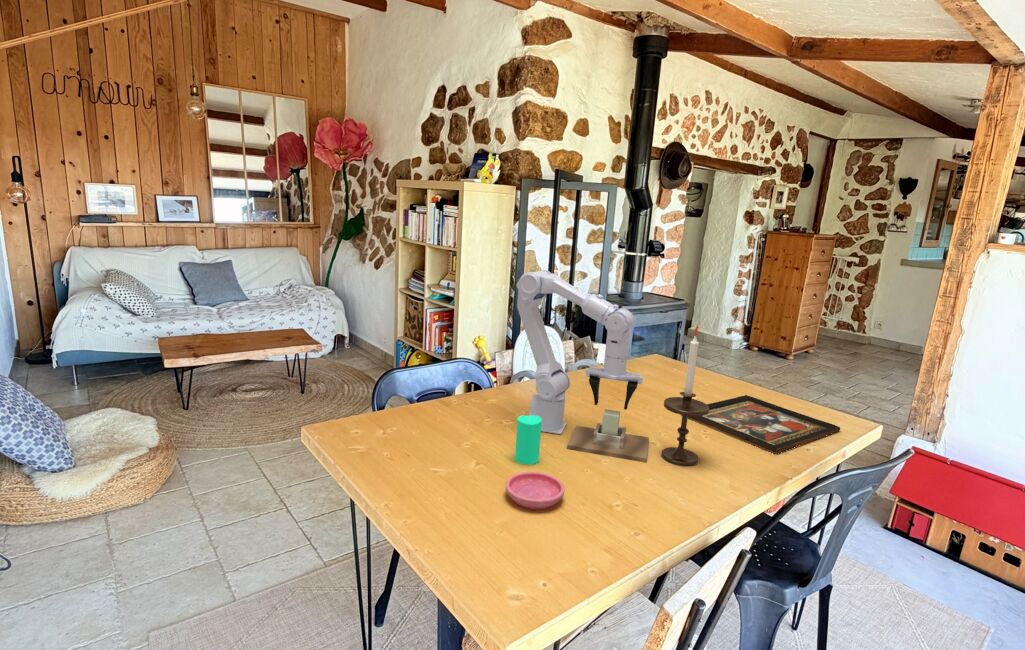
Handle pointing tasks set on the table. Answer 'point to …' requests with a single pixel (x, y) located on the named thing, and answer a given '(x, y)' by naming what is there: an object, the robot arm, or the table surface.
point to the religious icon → (763, 424)
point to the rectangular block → (610, 422)
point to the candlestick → (685, 412)
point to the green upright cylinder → (528, 439)
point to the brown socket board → (609, 443)
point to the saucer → (535, 489)
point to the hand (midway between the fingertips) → (610, 406)
